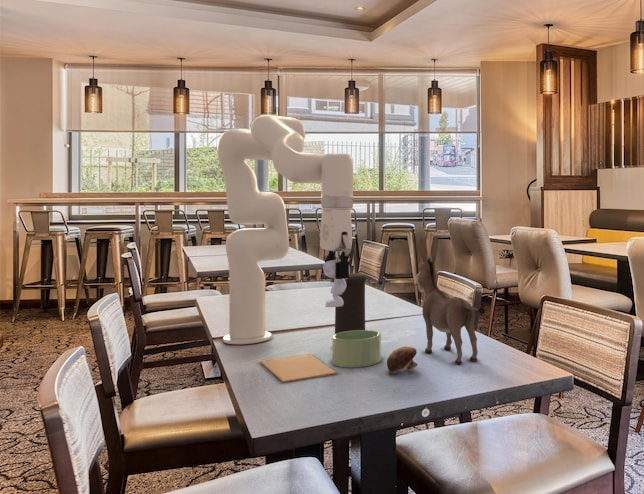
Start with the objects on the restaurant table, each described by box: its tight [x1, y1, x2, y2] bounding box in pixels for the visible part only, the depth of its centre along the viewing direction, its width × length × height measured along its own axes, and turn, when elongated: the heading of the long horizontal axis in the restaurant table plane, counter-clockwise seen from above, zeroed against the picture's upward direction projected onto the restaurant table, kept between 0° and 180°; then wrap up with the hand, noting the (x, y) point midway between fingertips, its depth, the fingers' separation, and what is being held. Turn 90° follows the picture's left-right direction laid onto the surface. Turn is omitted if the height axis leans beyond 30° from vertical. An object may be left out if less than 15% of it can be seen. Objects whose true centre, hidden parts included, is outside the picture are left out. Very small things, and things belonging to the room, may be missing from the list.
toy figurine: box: [322, 260, 351, 308], centre depth 152 cm, size 7×6×12 cm
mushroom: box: [386, 346, 419, 374], centre depth 144 cm, size 8×8×6 cm
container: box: [334, 272, 367, 334], centre depth 169 cm, size 9×9×20 cm
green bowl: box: [332, 329, 382, 368], centre depth 154 cm, size 12×12×6 cm
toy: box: [414, 235, 486, 365], centre depth 160 cm, size 8×34×30 cm, turn 36°
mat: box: [260, 353, 337, 384], centre depth 148 cm, size 20×12×1 cm, turn 34°
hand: (336, 276), depth 152 cm, fingers closed on toy figurine, 6 cm apart
